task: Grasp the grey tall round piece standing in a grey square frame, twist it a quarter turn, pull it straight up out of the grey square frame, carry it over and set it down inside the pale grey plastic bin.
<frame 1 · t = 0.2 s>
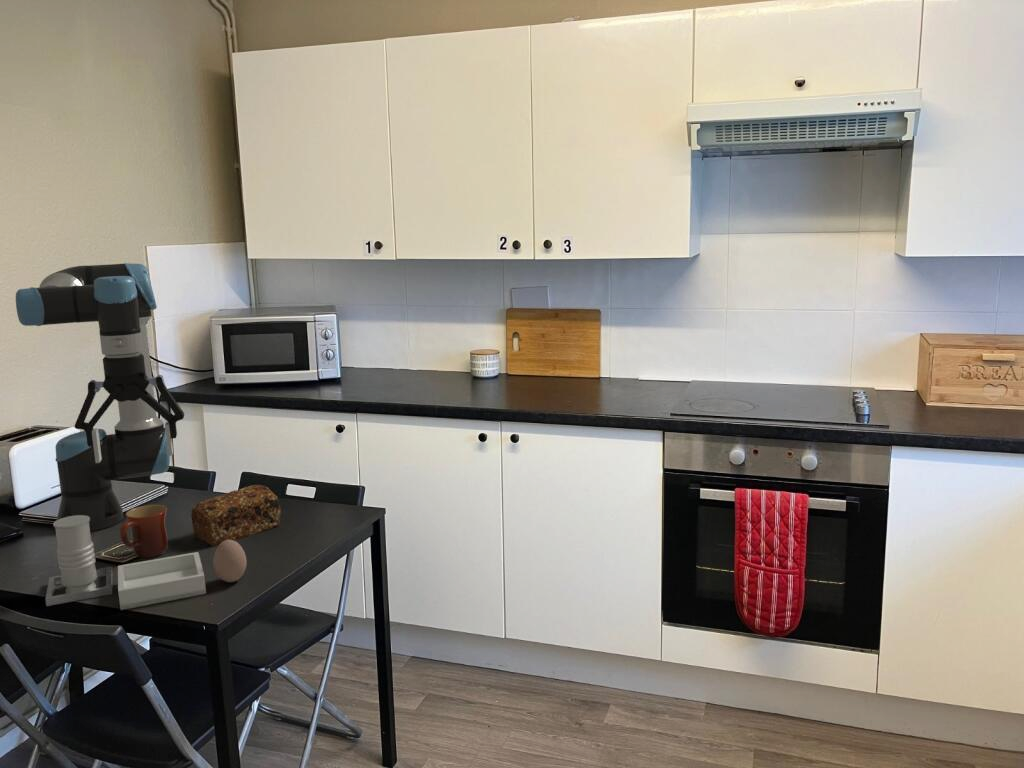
hand: (135, 457, 176), 28 cm above the table, fingers open, 13 cm apart
grey tall round piece: (80, 589, 180), resting in grey square frame
grey square frame: (80, 588, 180), on the table
egg: (231, 582, 182), on the table
mug: (146, 556, 197), on the table
bin: (162, 588, 179), on the table
bread: (238, 533, 211), on the table
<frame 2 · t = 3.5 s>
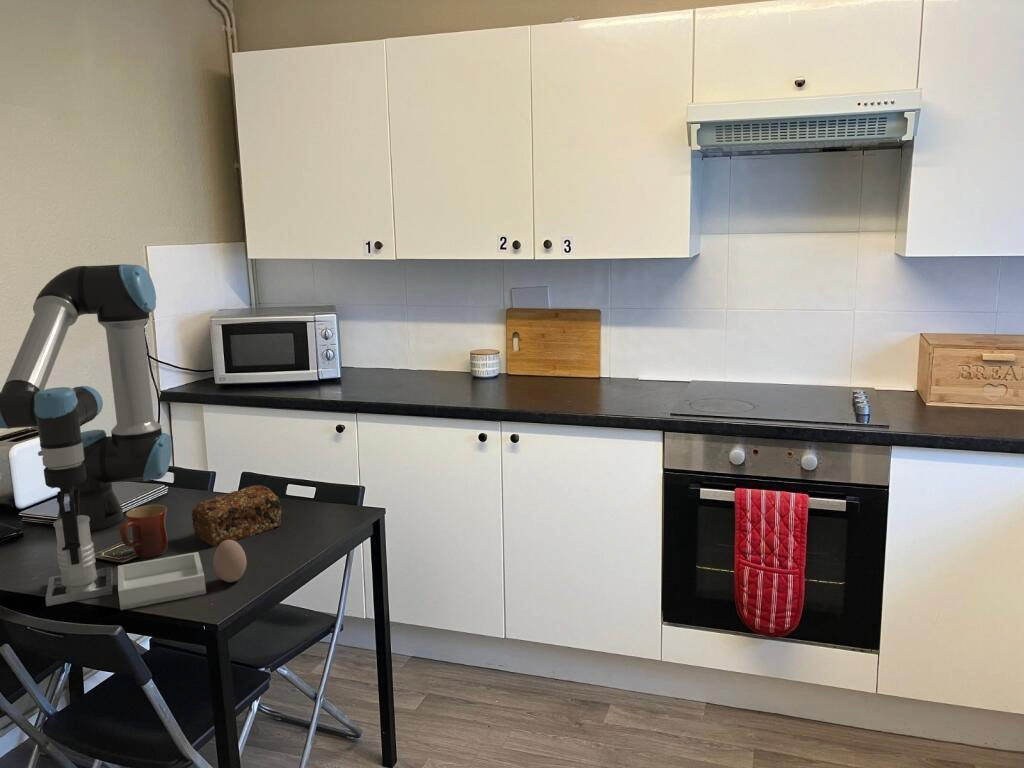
hand: (78, 570, 180), 4 cm above the table, fingers closed on grey tall round piece, 7 cm apart
grey tall round piece: (80, 589, 180), resting in grey square frame, touching gripper
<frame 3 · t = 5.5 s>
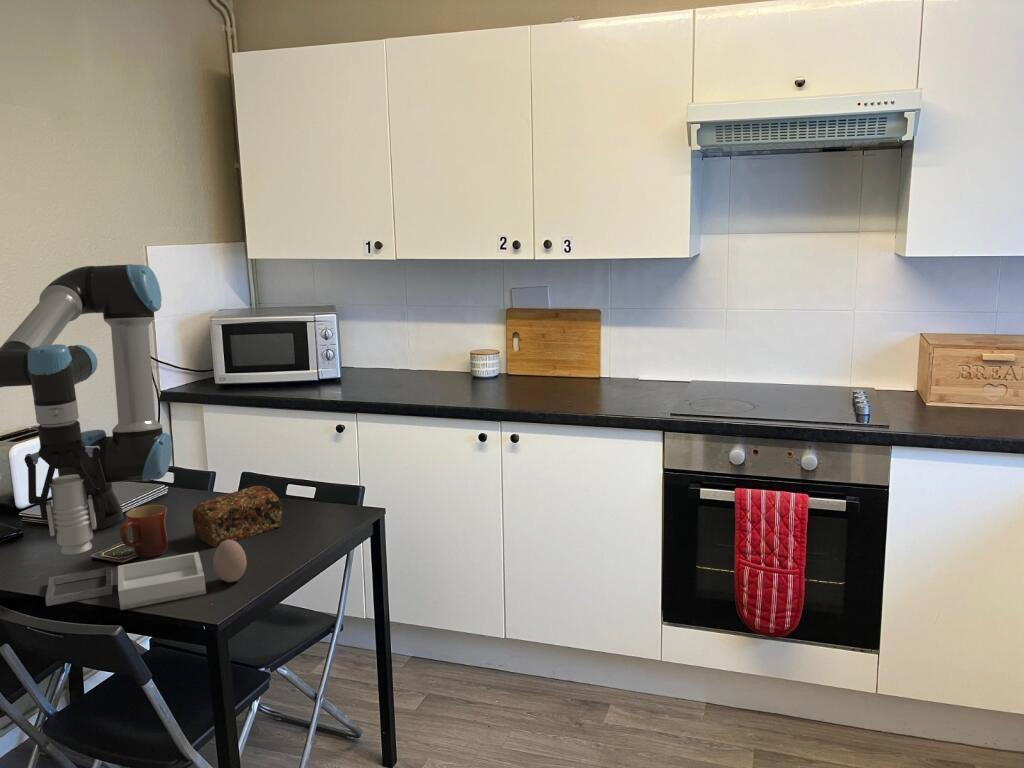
hand: (73, 530, 178), 13 cm above the table, fingers closed on grey tall round piece, 7 cm apart
grey tall round piece: (76, 549, 179), point 9 cm above the table, touching gripper
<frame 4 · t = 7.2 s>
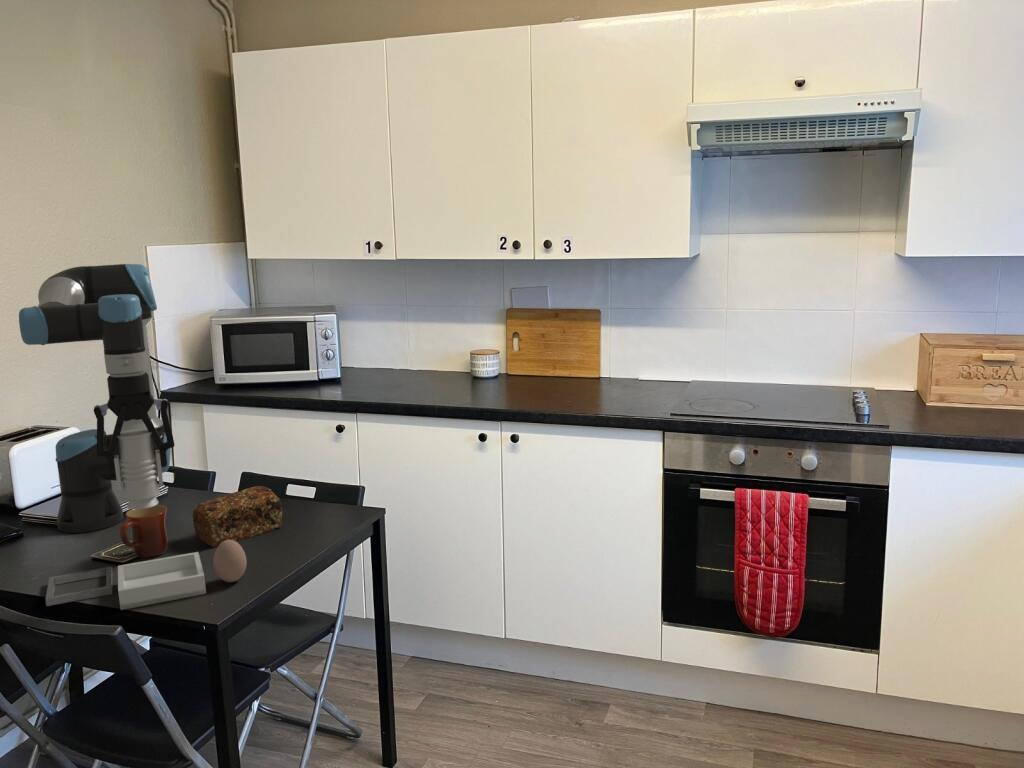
hand: (140, 485, 175), 23 cm above the table, fingers closed on grey tall round piece, 7 cm apart
grey tall round piece: (142, 505, 175), point 18 cm above the table, touching gripper
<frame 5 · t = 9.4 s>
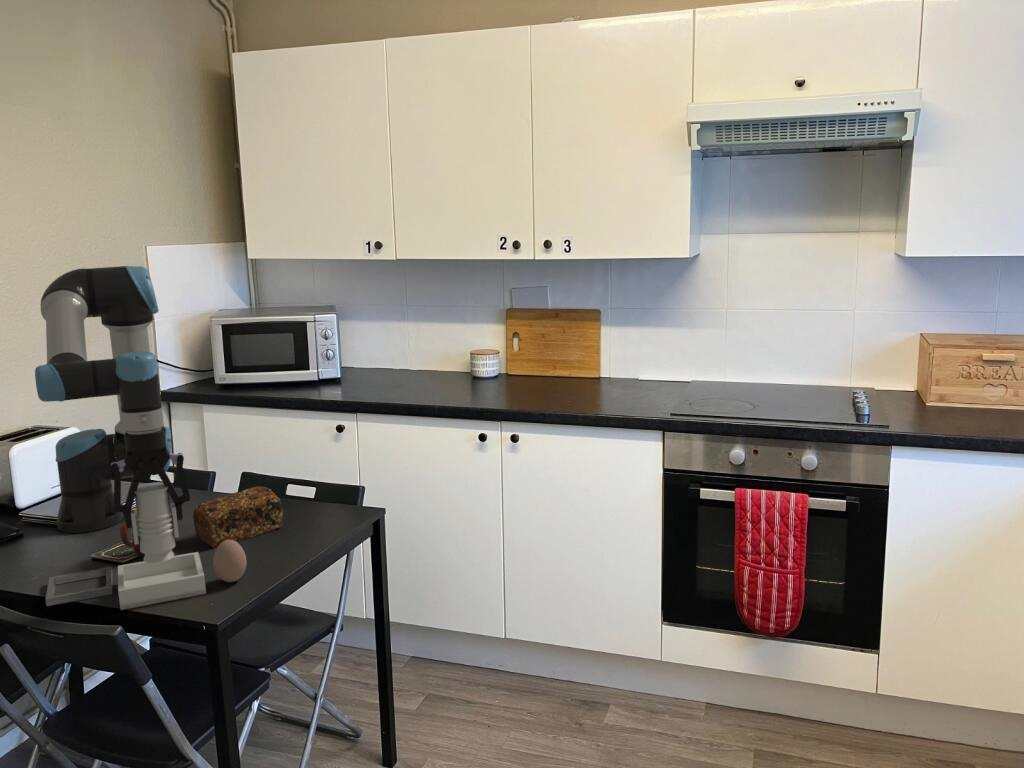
hand: (156, 538, 177), 11 cm above the table, fingers closed on grey tall round piece, 7 cm apart
grey tall round piece: (158, 558, 178), point 7 cm above the table, touching gripper
when the fingers open (5 cm above the table, at t = 11.0 s): grey tall round piece stays where it is, resting on bin.
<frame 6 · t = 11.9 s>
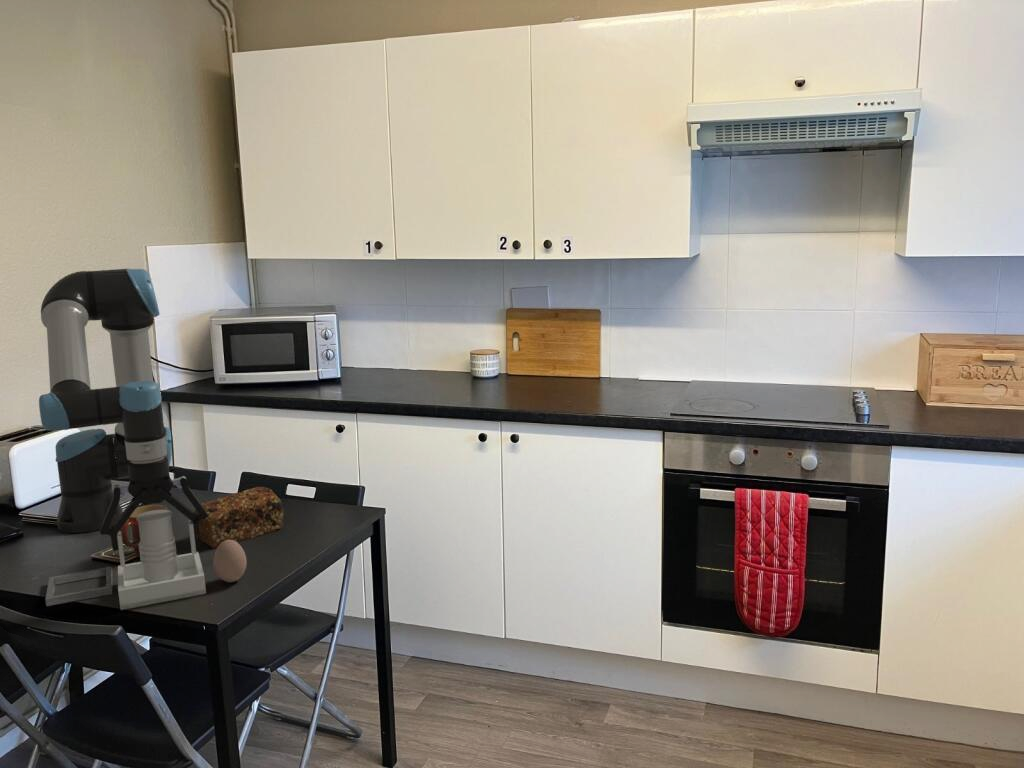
hand: (158, 558, 178), 7 cm above the table, fingers open, 13 cm apart
grey tall round piece: (161, 584, 179), point 1 cm above the table, touching bin
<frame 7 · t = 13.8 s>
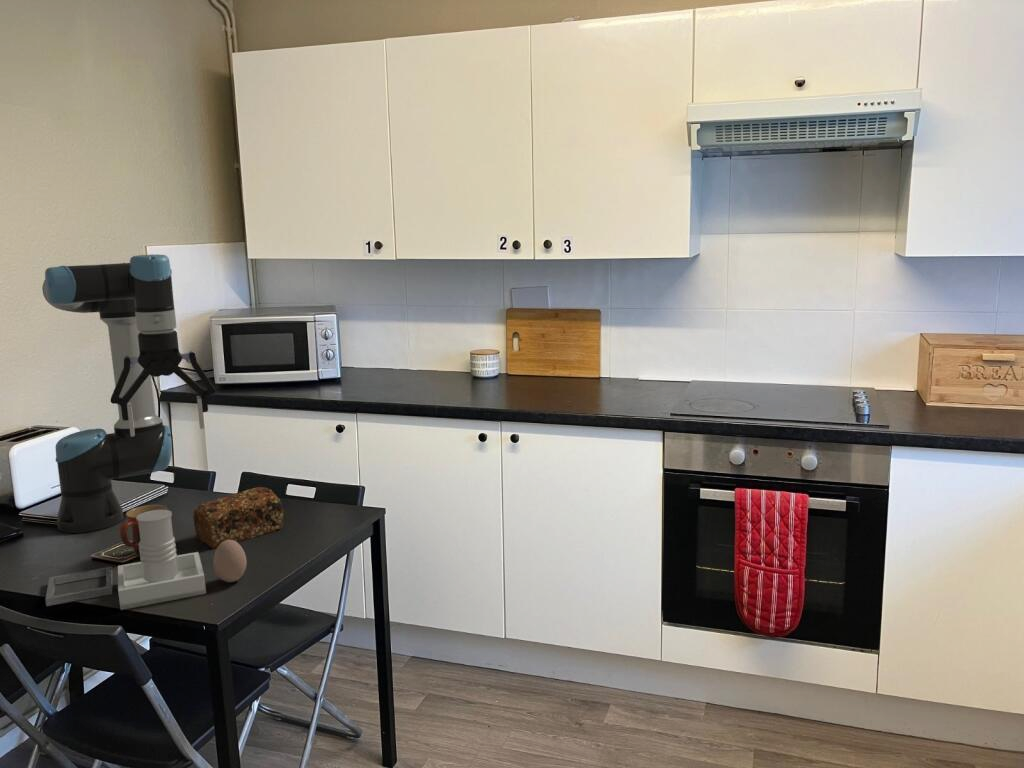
hand: (167, 431, 182), 31 cm above the table, fingers open, 13 cm apart
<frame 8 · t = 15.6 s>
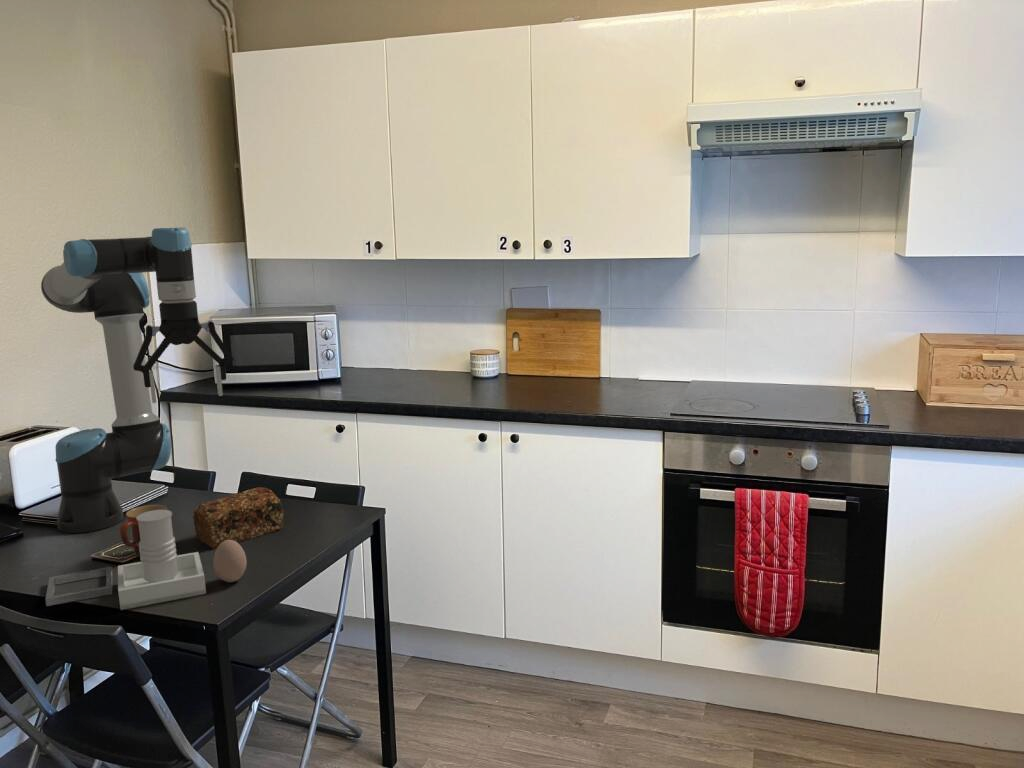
hand: (187, 398, 189), 37 cm above the table, fingers open, 13 cm apart
at the end: grey tall round piece inside the target area on the bin (0.0 cm from its centre), point 0.8 cm above the bin's base; grey tall round piece touching bin; the gripper is holding nothing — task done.
